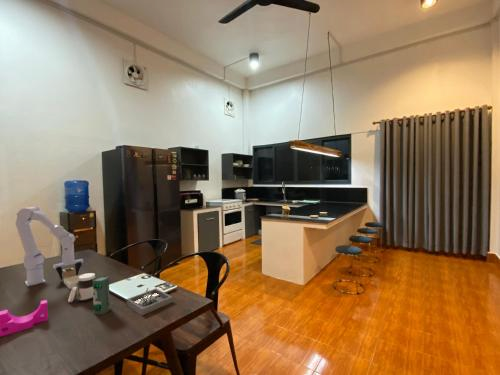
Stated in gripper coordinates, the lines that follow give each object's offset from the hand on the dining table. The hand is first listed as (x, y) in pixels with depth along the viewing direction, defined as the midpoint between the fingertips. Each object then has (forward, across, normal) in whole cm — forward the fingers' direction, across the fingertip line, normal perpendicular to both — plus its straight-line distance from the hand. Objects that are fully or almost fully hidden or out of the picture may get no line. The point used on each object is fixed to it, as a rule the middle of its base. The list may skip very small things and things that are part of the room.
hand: (69, 277), depth 151 cm
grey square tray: (+1, +16, -66) cm, 68 cm away
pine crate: (+2, 0, 0) cm, 2 cm away
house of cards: (+2, +15, -67) cm, 68 cm away
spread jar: (+2, -3, -35) cm, 36 cm away
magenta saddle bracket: (+2, -26, -43) cm, 50 cm away
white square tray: (+1, +2, -10) cm, 11 cm away
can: (+2, -1, -55) cm, 55 cm away
